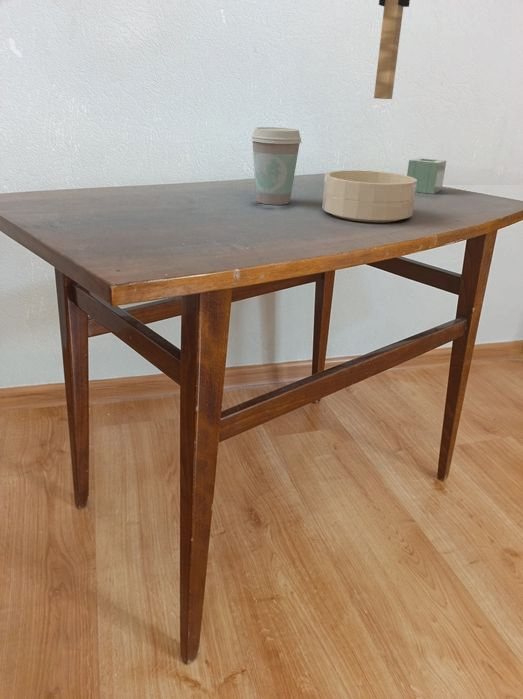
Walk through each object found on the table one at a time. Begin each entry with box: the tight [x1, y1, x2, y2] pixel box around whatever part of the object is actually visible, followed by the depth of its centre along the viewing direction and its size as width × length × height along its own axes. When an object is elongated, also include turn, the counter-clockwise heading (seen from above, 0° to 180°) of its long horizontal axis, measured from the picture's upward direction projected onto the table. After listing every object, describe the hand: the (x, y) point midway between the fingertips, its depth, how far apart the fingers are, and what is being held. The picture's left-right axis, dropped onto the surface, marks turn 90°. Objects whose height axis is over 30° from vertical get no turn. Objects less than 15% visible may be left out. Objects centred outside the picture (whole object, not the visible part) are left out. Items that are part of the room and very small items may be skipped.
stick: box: [373, 0, 404, 100], centre depth 86 cm, size 2×2×22 cm
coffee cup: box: [250, 126, 302, 206], centre depth 101 cm, size 8×9×12 cm
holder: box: [406, 157, 447, 195], centre depth 121 cm, size 6×6×6 cm
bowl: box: [321, 169, 417, 223], centre depth 95 cm, size 14×14×6 cm
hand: (393, 5), depth 86 cm, fingers closed on stick, 2 cm apart
